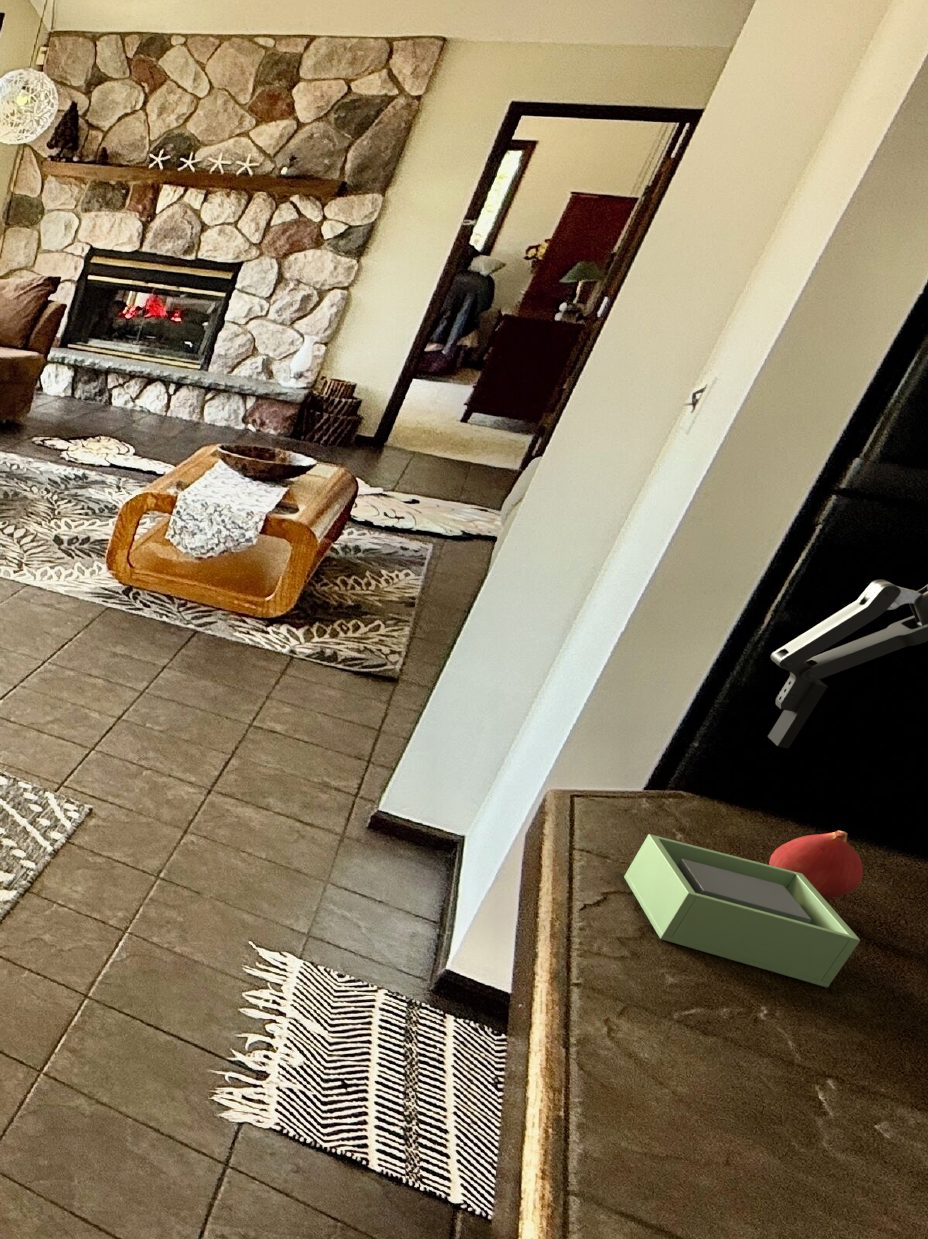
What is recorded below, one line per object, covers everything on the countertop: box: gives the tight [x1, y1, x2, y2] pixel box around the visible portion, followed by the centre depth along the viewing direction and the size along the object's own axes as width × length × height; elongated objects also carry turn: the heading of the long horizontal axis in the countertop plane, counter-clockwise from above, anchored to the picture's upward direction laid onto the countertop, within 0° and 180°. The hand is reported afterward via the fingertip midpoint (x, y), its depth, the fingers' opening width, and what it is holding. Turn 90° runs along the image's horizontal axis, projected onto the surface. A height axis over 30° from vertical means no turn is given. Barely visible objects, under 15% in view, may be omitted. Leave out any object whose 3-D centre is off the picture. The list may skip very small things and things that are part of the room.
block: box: [677, 859, 811, 924], centre depth 106 cm, size 7×7×4 cm
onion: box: [768, 830, 864, 900], centre depth 111 cm, size 6×6×8 cm
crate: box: [623, 833, 861, 989], centre depth 106 cm, size 11×13×5 cm
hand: (878, 766), depth 107 cm, fingers open, 13 cm apart
